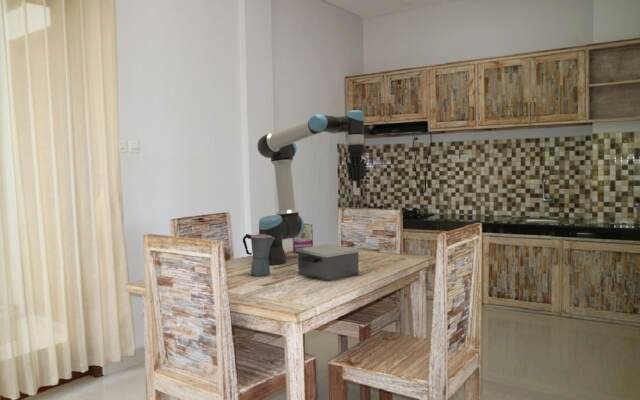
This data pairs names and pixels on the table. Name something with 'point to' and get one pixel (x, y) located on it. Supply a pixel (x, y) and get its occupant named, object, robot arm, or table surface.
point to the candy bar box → (303, 238)
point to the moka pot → (259, 253)
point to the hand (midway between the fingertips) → (356, 194)
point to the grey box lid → (327, 250)
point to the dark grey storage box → (328, 266)
